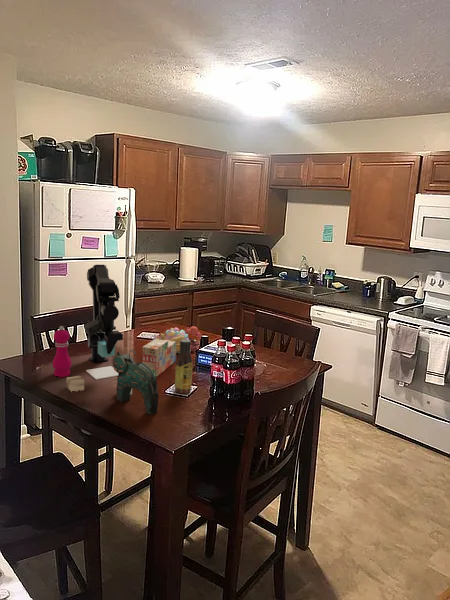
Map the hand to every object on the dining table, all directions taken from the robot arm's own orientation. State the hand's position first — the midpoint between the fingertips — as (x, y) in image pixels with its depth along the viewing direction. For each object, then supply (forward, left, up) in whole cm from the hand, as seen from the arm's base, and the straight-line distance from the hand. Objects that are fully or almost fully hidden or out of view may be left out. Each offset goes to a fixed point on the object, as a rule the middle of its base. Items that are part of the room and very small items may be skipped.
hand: (106, 351), depth 199 cm
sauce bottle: (+26, +20, -11) cm, 35 cm away
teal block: (0, 0, -1) cm, 1 cm away
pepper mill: (-11, -14, -11) cm, 21 cm away
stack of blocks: (0, +24, -11) cm, 26 cm away
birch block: (+6, -14, -11) cm, 19 cm away
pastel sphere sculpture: (-23, +46, -11) cm, 53 cm away
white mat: (-5, +1, -11) cm, 12 cm away
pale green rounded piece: (+18, 0, -11) cm, 21 cm away
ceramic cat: (+30, -1, -11) cm, 32 cm away
